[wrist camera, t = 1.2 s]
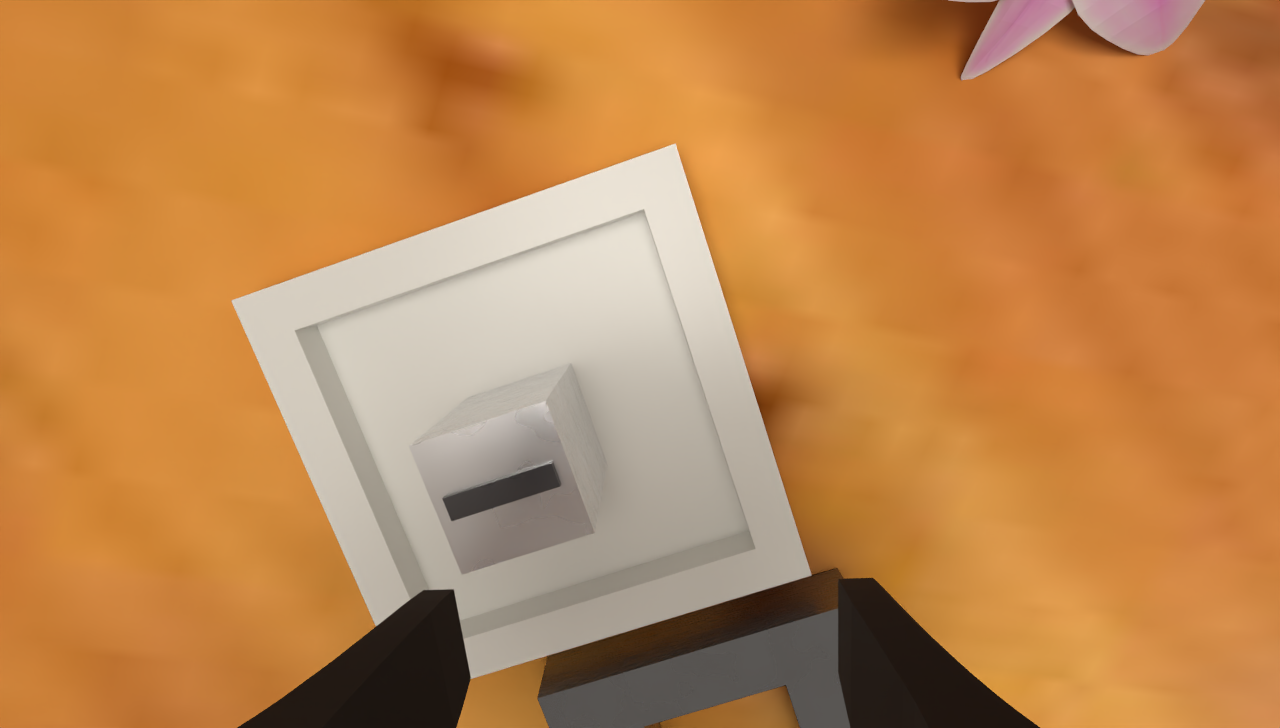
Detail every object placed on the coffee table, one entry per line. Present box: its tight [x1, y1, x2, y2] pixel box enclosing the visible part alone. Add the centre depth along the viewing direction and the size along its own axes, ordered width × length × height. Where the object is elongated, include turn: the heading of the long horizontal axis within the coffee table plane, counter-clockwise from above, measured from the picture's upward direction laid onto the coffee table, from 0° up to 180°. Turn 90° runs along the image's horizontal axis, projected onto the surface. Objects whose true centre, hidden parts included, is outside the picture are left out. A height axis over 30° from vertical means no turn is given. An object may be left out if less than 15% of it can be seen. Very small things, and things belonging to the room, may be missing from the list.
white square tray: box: [231, 144, 811, 679], centre depth 23 cm, size 16×16×2 cm
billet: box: [409, 363, 607, 575], centre depth 21 cm, size 4×4×6 cm
